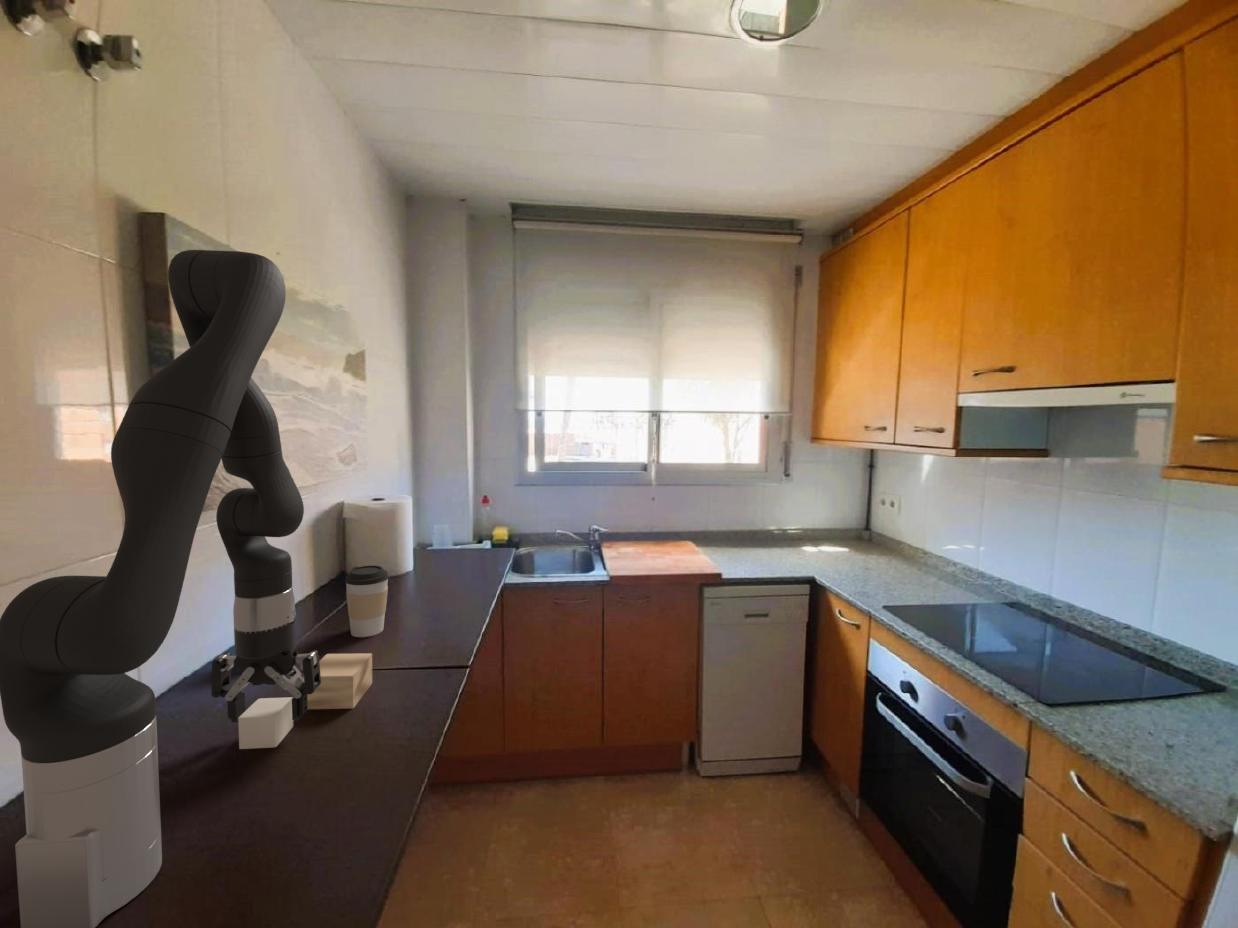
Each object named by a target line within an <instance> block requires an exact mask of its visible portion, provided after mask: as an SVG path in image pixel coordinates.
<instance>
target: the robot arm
mask: <svg viewBox="0 0 1238 928" xmlns="http://www.w3.org/2000/svg"><path fill="white" fill-rule="evenodd" d="M167 280H168V287H169V293H170V295H171V298H172V302H173V305H174V308H175V311H176V313H177V316H178V318H179V321H180V324H181V326H182V329H183V332H184V335H185V337H186V340H187V344H188V346H189V348H188V349H186V350H185V351H184V352H182V353H181V354H180V355H178V356H177V357H175V359H173V360H172V361H171V362H169V363H168V364H167V365H165V366H164V367H162V368H161V369H160V370H159V371H157V372H156V373H154V375H152V376H151V377H149V379H147V381H146V382H145V383H143V384H142V385H141V386H140V387H139V389H138V390H137V391H136V393H135V394H134V396H133V397H132V398H131V400H130V402H129V404H128V407H127V408H126V412H125V414H124V415H123V418H122V420H121V422H120V424H119V426H118V429H117V431H116V433H115V435H114V437H113V440H112V442H111V443H112V444H111V448H110V459H111V466H112V467H111V468H112V471H113V475H114V479H115V481H116V486H117V489H118V491H119V492H118V493H119V494H120V498H121V501H122V506H123V513H124V524H123V525H124V526H123V532H122V535H121V540H120V543H119V547H118V549H117V551H116V554H115V557H114V559H113V561H112V564H111V566H110V568H109V570H108V572H107V575H106V576H103V575H102V576H100V575H62V576H61V575H60V576H54V577H49V578H46V579H43V580H41V581H37V582H35V583H33V584H31V585H29V586H27V588H24V589H23V590H22V591H21V592H20V593H18V594H17V595H16V596H15V597H14V598H13V599H12V600H11V601H10V602H9V604H8V605H7V607H6V608H5V609H4V611H3V613H2V614H1V616H0V701H1V708H2V715H3V716H2V717H3V719H4V723H5V726H6V727H7V729H8V731H9V732H10V733H11V734H12V735H13V737H15V738H16V740H18V742H19V744H20V745H19V746H20V755H21V756H20V757H21V766H22V767H21V768H22V769H21V770H22V785H23V787H22V788H23V801H24V803H23V804H24V814H25V815H24V816H25V830H26V834H25V835H24V836H23V837H22V838H20V839H19V840H18V841H17V842H16V843H15V846H14V847H15V849H14V850H15V862H16V864H15V865H16V877H17V892H18V893H17V894H18V906H19V919H20V928H96V927H98V925H99V924H100V923H101V922H102V921H103V920H104V919H105V918H106V917H108V916H109V915H110V914H112V913H113V912H115V911H117V910H118V909H120V908H122V907H123V906H125V905H127V904H128V903H130V902H131V901H132V900H133V899H134V898H136V897H137V896H138V895H139V894H140V893H141V892H143V891H144V890H145V889H146V888H147V887H148V886H149V885H150V884H151V883H152V882H153V880H154V879H155V878H156V876H157V874H158V873H159V871H160V870H161V867H162V865H163V853H162V851H163V850H162V849H163V848H162V847H163V846H162V826H161V825H162V823H161V821H162V819H161V802H160V801H161V800H160V778H159V755H158V751H159V750H158V728H157V704H156V703H157V701H156V695H155V693H154V690H153V689H152V688H151V687H150V686H149V685H147V684H145V683H144V682H142V681H139V680H137V679H135V678H133V677H131V676H130V675H128V674H127V673H129V672H132V671H133V670H136V669H138V668H140V667H141V666H143V665H144V664H145V663H147V661H149V660H150V658H152V657H153V656H154V655H155V654H156V653H157V651H158V650H159V649H160V647H161V646H162V644H163V643H164V641H165V639H166V638H167V636H168V634H169V632H170V630H171V627H172V625H173V622H174V621H175V620H174V619H175V617H176V613H177V610H178V607H179V603H180V599H181V594H182V591H183V585H184V581H185V578H186V572H187V569H188V564H189V559H190V555H191V552H192V547H193V542H194V540H195V539H194V538H195V534H196V532H197V528H198V525H199V521H200V519H201V515H202V513H203V510H204V507H205V504H206V501H207V497H208V494H209V492H210V489H211V486H212V484H213V483H212V482H213V480H214V477H215V475H216V472H217V470H218V467H219V465H220V462H221V461H222V462H221V463H222V466H223V469H224V471H225V472H226V473H227V474H228V475H231V476H233V477H236V478H238V479H242V480H245V481H247V482H248V483H249V484H251V486H252V487H242V488H241V487H240V488H234V489H231V490H230V491H229V492H227V493H226V494H224V496H223V497H222V498H221V500H220V501H219V503H218V506H217V510H216V518H215V519H216V520H215V521H216V525H217V529H218V532H219V535H220V537H221V540H222V543H223V545H224V548H225V551H226V554H227V556H228V558H229V560H230V562H231V565H232V567H233V583H234V601H233V612H232V615H233V617H232V618H233V638H234V653H235V655H232V654H231V652H229V651H225V652H224V653H222V654H221V655H220V656H218V657H217V658H216V659H214V660H213V661H212V662H211V696H212V697H213V698H215V699H216V698H219V697H221V698H224V700H225V701H226V703H227V717H228V719H229V720H230V721H231V724H236V723H237V724H239V722H238V718H239V717H240V716H241V715H242V714H243V713H244V712H245V711H246V700H245V699H246V697H245V694H246V693H245V692H243V691H244V690H245V688H246V687H247V686H248V685H249V684H252V686H260V685H264V684H265V685H268V686H269V685H274V686H275V685H276V684H277V685H278V686H279V687H280V688H281V689H282V690H285V691H288V693H289V694H290V695H291V697H293V698H292V720H293V721H299V720H300V719H301V718H302V717H303V715H304V714H305V713H306V712H307V710H308V709H307V708H308V699H307V694H312V693H313V692H314V691H315V689H316V688H317V687H318V686H319V685H320V684H321V675H320V664H319V661H320V656H319V655H320V654H319V651H318V650H316V649H313V650H311V651H310V652H309V653H298V651H297V650H296V642H297V637H296V636H297V633H296V631H297V630H296V611H297V609H296V601H295V595H294V590H293V568H292V567H293V566H292V565H293V564H292V557H291V555H290V552H288V551H287V550H284V549H281V548H278V547H275V546H274V545H271V544H270V543H269V542H268V540H267V538H284V537H287V536H290V535H292V534H294V532H296V531H297V530H298V529H299V527H300V526H301V523H302V522H303V520H304V519H303V518H304V514H305V513H304V512H305V507H304V506H305V505H304V501H303V498H302V495H301V493H300V490H299V489H298V487H297V485H296V482H295V481H294V478H293V476H292V474H291V472H290V469H289V468H288V465H287V464H286V461H285V460H284V456H283V450H282V442H281V437H280V436H281V435H280V428H279V422H278V418H277V416H276V413H275V411H274V408H273V407H272V404H271V403H270V401H269V399H268V398H267V397H266V395H265V393H264V392H263V391H262V389H261V387H259V385H258V384H257V383H256V382H255V380H254V379H253V377H252V376H253V373H254V371H255V369H256V366H257V365H258V362H259V360H260V358H261V356H262V354H263V352H264V351H265V349H266V346H267V345H268V343H269V341H270V339H271V337H272V336H273V333H274V332H275V330H276V328H277V326H278V324H279V321H280V320H281V317H282V315H283V313H284V312H283V311H284V308H285V305H286V304H285V303H286V293H287V292H286V285H285V284H286V283H285V281H284V276H283V274H282V272H281V270H280V269H279V267H278V265H276V263H274V261H272V260H271V259H269V258H268V257H266V256H264V255H260V254H257V253H254V252H246V251H239V250H238V251H237V250H214V249H213V250H210V249H207V250H206V249H188V250H187V249H186V250H182V251H180V252H178V253H177V254H175V255H174V256H173V258H172V259H171V260H170V262H169V266H168V271H167ZM266 537H267V538H266ZM296 664H298V665H299V669H300V670H299V669H298V668H297V667H296V666H295V665H296ZM233 667H234V668H235V669H236V670H237V671H238V672H239V674H241V675H240V676H239V678H238V679H237V680H236V681H235V682H234V684H232V669H233ZM301 670H303V676H302V672H301ZM287 675H288V676H289V678H288V677H287ZM303 677H304V679H303Z"/></svg>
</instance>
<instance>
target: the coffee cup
mask: <svg viewBox="0 0 1238 928" xmlns="http://www.w3.org/2000/svg"><path fill="white" fill-rule="evenodd" d="M388 573H389V571H387V570H386V569H384V567H383V566H380V565H373V564H371V565H363V566H354V567H352V568H351V569H350V572H349V573H348V574H346V577H345V580H344V583H345V585H346V591H345V593H346V603H347V611H348V612H347V613H348V617H349V625H350V634H351V636H352V637H353V638H354V637H355V638H367V637H372V636H376V635H378V634H381V633H382V632H383V630H384V629H385V628H384V626H385V613H386V610H387V601H388V590H389V586H388V581H389V578H390V575H389V574H388Z"/></svg>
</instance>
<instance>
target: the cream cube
mask: <svg viewBox="0 0 1238 928" xmlns="http://www.w3.org/2000/svg"><path fill="white" fill-rule="evenodd" d="M292 698H293V696H290V697H289V696H288V697H267V698H266V697H265V698H263V697H262V698H261V697H260V698H257V700H255V701H254V702H253V703H252V704H251V705H250V706H249V707H248V708H247V709H245V712H244V713H243V714H242V715H241V716H240V717H239V718H238V746H239V747H238V749H239V750H244V749H245V750H249V749H266V748H267V749H269V748H277V746H278V745H280V743H281V742H282V741H283V739H285V737H286V736H287V734H288V733H289V732H290V731H291V730H292V729H293V727H294V720H292Z"/></svg>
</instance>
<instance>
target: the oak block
mask: <svg viewBox="0 0 1238 928" xmlns="http://www.w3.org/2000/svg"><path fill="white" fill-rule="evenodd" d="M319 664H320V675H321V684H320V685H319V686H318V687H317V688H316V689H315V691H314V692H313V693H312V694H307V699H308V708H307V710H331V709H332V710H333V709H334V710H342V709H347V710H348V709H354V708H355V707H356V706H357V704H358V703H359V701H361V699H362V698H363V696H364V694H365V693H366V692H367V691H368V690H369V688H370V687H371V686H372V684H373V653H363V652H362V653H361V652H360V653H327V654H325V655H324V656H323V657H322V658H321V659H319ZM302 678H303V679H304V676H302Z"/></svg>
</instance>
